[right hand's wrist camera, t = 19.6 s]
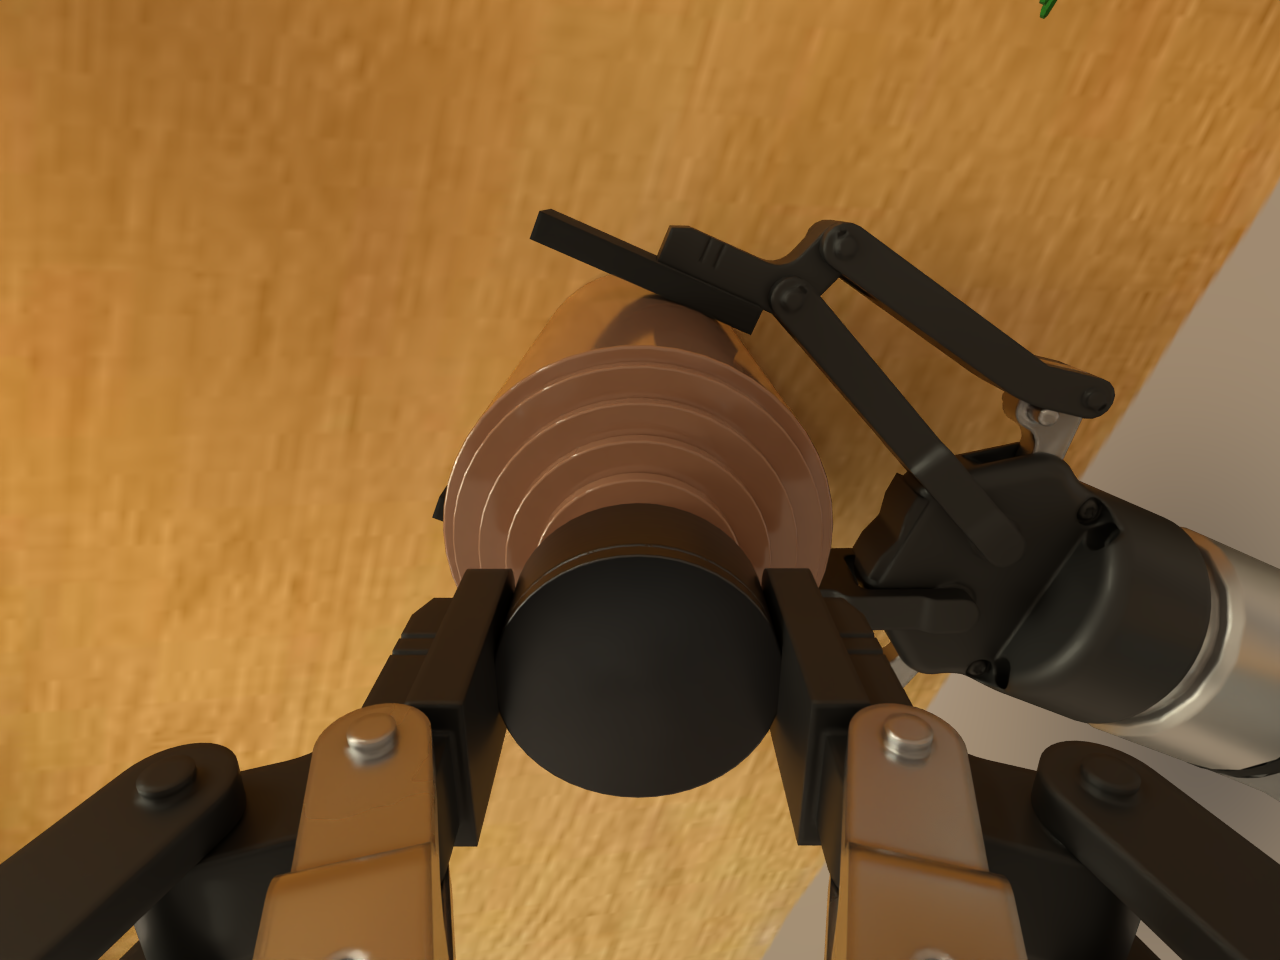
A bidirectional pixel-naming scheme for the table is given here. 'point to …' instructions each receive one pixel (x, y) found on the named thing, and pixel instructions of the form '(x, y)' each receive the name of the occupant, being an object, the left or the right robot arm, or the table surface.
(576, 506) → the bottle
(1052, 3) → the toy
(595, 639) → the cap
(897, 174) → the table surface
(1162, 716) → the left robot arm
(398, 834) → the right robot arm
